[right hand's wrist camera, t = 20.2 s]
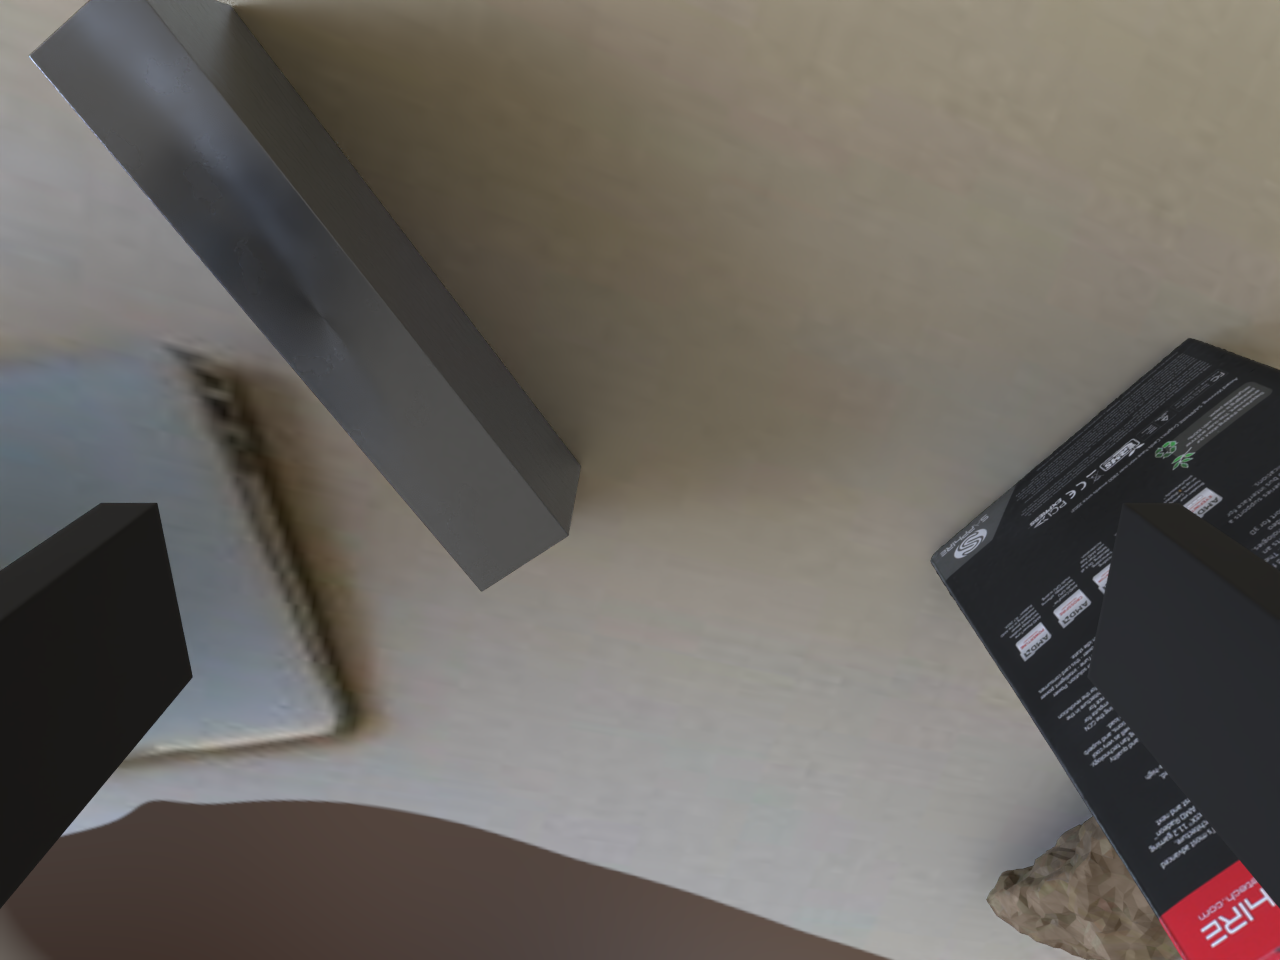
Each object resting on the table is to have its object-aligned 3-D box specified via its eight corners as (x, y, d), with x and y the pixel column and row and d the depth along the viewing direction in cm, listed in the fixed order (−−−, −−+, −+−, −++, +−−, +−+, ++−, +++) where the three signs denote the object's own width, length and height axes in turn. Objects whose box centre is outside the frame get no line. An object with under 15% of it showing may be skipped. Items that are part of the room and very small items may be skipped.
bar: (581, 466, 47) (568, 535, 38) (508, 514, 48) (481, 592, 39) (230, 4, 39) (122, -32, 31) (152, 72, 40) (27, 55, 32)
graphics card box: (994, 634, 50) (1363, 1151, 24) (910, 557, 48) (1213, 1026, 23) (1257, 415, 45) (2047, 767, 20) (1176, 322, 44) (1923, 577, 18)
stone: (1173, 1018, 56) (1225, 1093, 50) (969, 883, 56) (997, 941, 50) (1396, 750, 53) (1480, 796, 47) (1180, 610, 53) (1236, 637, 47)
